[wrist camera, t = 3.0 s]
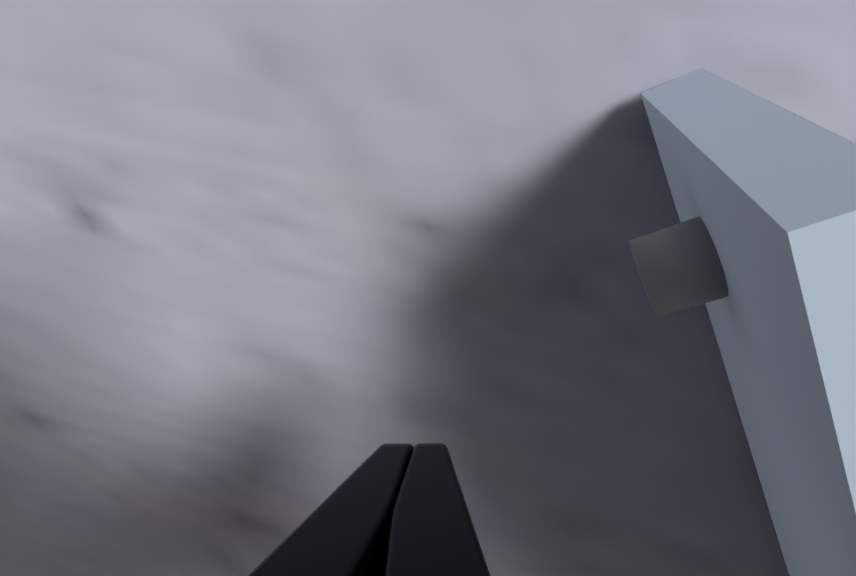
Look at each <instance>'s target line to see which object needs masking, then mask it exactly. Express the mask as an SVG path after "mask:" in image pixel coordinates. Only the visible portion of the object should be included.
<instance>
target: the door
mask: <svg viewBox="0 0 856 576" xmlns="http://www.w3.org/2000/svg"><path fill="white" fill-rule="evenodd" d="M641 96H642V99H643V103H644V106H645V109H646V112H647V116H648V119H649V122H650V125H651V129H652V132H653V135H654V138H655V142H656V145H657V148H658V151H659V155H660V158H661V161H662V164H663V168H664V171H665V174H666V177H667V181H668V184H669V187H670V190H671V194H672V197H673V200H674V203H675V206H676V210H677V213H678V216H679V219H680V223H678V224H675V225H672V226H669V227H666V228H663V229H660V230H658V231H655V232H652V233H649V234H646V235H643V236H640V237H637V238H634V239H631V240H628V242H629V245H630V248H631V252H632V255H633V257H634V260H635V263H636V266H637V269H638V272H639V275H640V278H641V280H642V283H643V286H644V289H645V292H646V294H647V297H648V300H649V302H650V305H651V308H652V310H653V313H654V315H655V318H659V317H663V316H666V315H669V314H672V313H676V312H679V311H682V310H686V309H689V308H692V307H695V306H699V305H702V304H706V307H707V310H708V314H709V317H710V320H711V323H712V327H713V330H714V333H715V336H716V340H717V343H718V346H719V349H720V353H721V356H722V359H723V362H724V366H725V369H726V372H727V375H728V379H729V382H730V385H731V388H732V392H733V395H734V398H735V401H736V405H737V408H738V411H739V414H740V417H741V421H742V424H743V427H744V430H745V434H746V437H747V440H748V443H749V447H750V450H751V453H752V456H753V460H754V463H755V466H756V469H757V473H758V476H759V479H760V482H761V486H762V489H763V492H764V495H765V499H766V502H767V505H768V508H769V512H770V515H771V518H772V521H773V525H774V528H775V531H776V534H777V538H778V541H779V544H780V547H781V551H782V554H783V557H784V560H785V564H786V567H787V570H788V573H789V576H856V143H854V142H852V141H850V140H848V139H846V138H844V137H842V136H840V135H838V134H836V133H834V132H832V131H830V130H828V129H826V128H823V127H821V126H819V125H817V124H815V123H813V122H811V121H809V120H807V119H805V118H803V117H801V116H799V115H797V114H795V113H793V112H791V111H789V110H787V109H785V108H782V107H780V106H778V105H776V104H774V103H772V102H770V101H768V100H766V99H764V98H762V97H760V96H758V95H756V94H754V93H752V92H750V91H748V90H746V89H744V88H742V87H739V86H737V85H735V84H733V83H731V82H729V81H727V80H725V79H723V78H721V77H719V76H717V75H715V74H713V73H711V72H709V71H707V70H705V69H703V68H701V69H699V70H696V71H694V72H692V73H689V74H687V75H684V76H682V77H679V78H677V79H674V80H672V81H669V82H667V83H664V84H662V85H660V86H657V87H655V88H652V89H650V90H647V91H645V92H642V93H641Z"/></svg>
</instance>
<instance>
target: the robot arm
mask: <svg viewBox="0 0 856 576" xmlns="http://www.w3.org/2000/svg"><path fill="white" fill-rule="evenodd" d="M249 576H490V573H489V570H488V567H487V564H486V561H485V559H484V556H483V553H482V550H481V547H480V544H479V541H478V538H477V535H476V532H475V529H474V526H473V523H472V520H471V517H470V514H469V511H468V508H467V505H466V502H465V499H464V496H463V493H462V490H461V487H460V484H459V482H458V479H457V476H456V473H455V470H454V467H453V464H452V461H451V458H450V455H449V452H448V449H447V447H446V446H445V445H444V444H441V443H440V444H417V445H416V446H415V447H413V446H412V445H411V444H383V445H382V446H380V447H379V448H378V449H377V450H376V451H375V452H374V453H373V454H372V455H371V456H370V457H369V458H368V459H367V460H366V461H365V462H364V463H363V464H362V465H361V466H360V467H359V468H357V469H356V470H355V471H354V472H353V473H352V474H351V475H350V476H349V477H348V478H347V479H346V480H345V481H344V482H343V483H342V484H341V485H340V486H339V487H338V488H337V489H336V490H335V491H334V492H333V493H332V494H331V495H330V496H329V497H328V498H327V499H326V500H325V501H324V502H323V503H322V504H321V505H320V506H319V507H318V508H317V509H316V510H315V511H314V512H313V513H312V514H311V515H310V516H309V517H308V518H307V519H306V520H305V521H304V522H303V523H302V524H300V525H299V526H298V527H297V528H296V529H295V530H294V531H293V532H292V533H291V534H290V535H289V536H288V537H287V538H286V539H285V540H284V541H283V542H282V543H281V544H280V545H279V546H278V547H277V548H276V549H275V550H274V551H273V552H272V553H271V554H270V555H269V556H268V557H267V558H266V559H265V560H264V561H263V562H262V563H261V564H260V565H259V566H258V567H257V568H256V569H255V570H254V571H253V572H252V573H251V574H250V575H249Z"/></svg>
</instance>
